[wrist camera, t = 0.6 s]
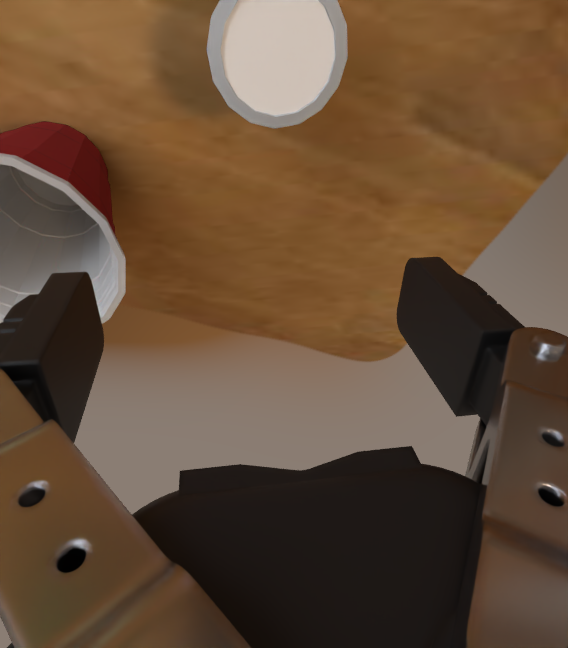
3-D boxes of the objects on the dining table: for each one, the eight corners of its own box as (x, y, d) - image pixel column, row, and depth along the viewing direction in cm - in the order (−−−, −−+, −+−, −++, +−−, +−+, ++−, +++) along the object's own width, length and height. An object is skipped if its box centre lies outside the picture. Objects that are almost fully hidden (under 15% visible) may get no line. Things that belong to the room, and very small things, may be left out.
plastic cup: (-68, 172, 28) (-187, 278, 19) (18, 32, 24) (-80, 83, 16) (88, 266, 34) (53, 380, 25) (176, 165, 31) (172, 258, 22)
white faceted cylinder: (229, 112, 29) (239, 149, 24) (181, -13, 24) (180, -1, 19) (329, 71, 28) (361, 99, 23) (298, -65, 24) (330, -67, 19)
